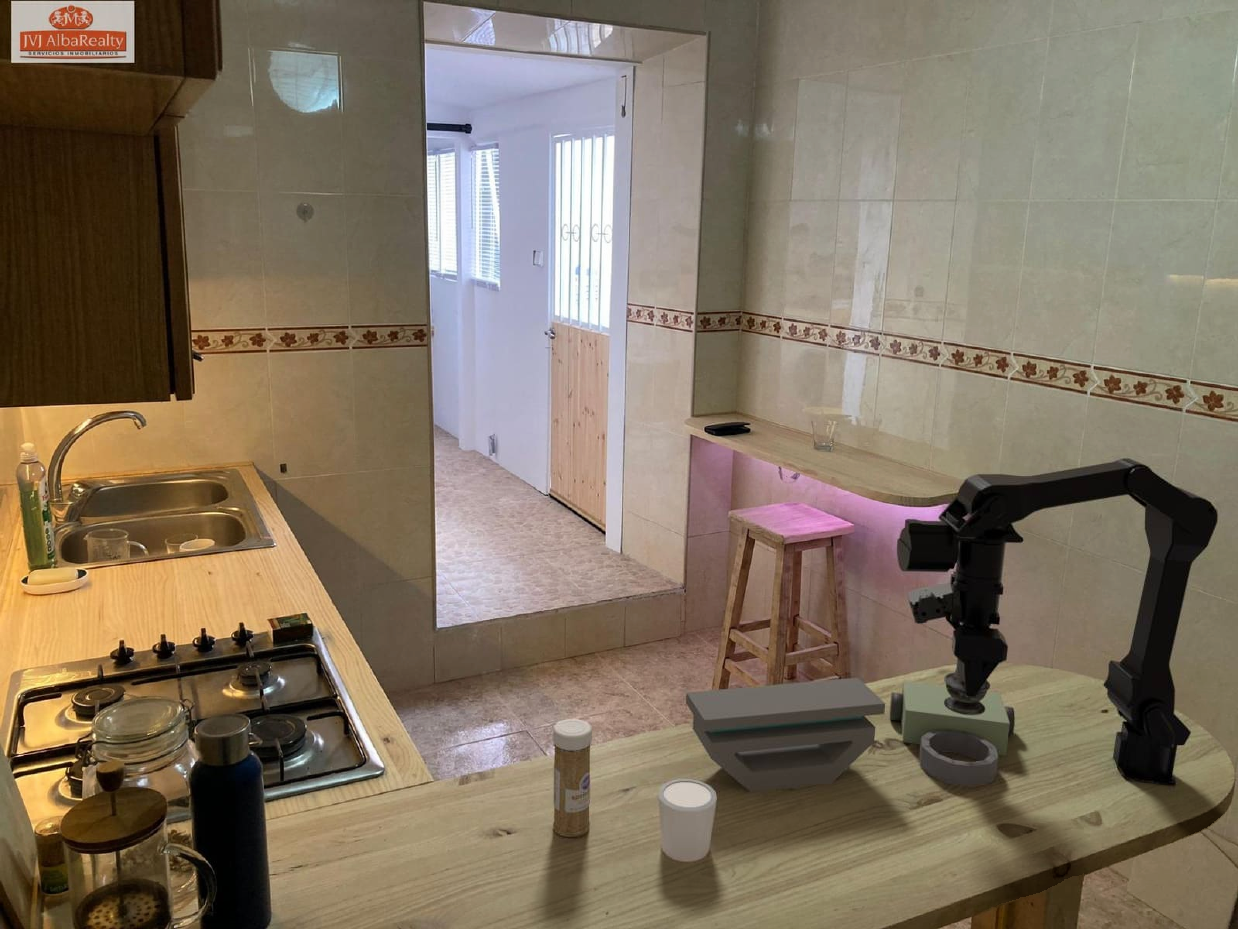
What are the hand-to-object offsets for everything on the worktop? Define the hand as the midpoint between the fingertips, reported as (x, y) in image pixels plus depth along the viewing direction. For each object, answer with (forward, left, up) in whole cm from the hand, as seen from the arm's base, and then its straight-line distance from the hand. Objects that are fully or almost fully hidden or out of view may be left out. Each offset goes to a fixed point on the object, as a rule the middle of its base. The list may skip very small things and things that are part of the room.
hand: (967, 682), depth 130 cm
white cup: (+33, +28, -13) cm, 45 cm away
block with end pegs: (0, -5, -13) cm, 14 cm away
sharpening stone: (+24, +8, -13) cm, 28 cm away
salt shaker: (0, 0, -4) cm, 4 cm away
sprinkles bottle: (+47, +28, -13) cm, 56 cm away
